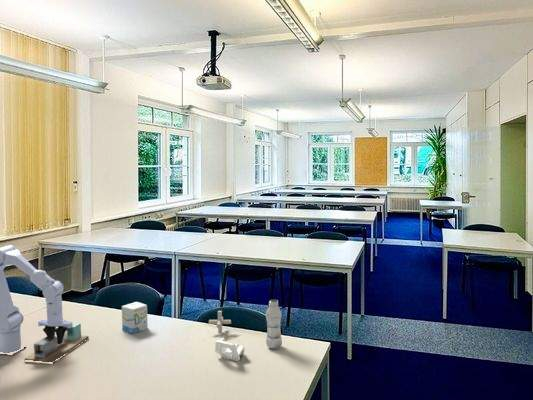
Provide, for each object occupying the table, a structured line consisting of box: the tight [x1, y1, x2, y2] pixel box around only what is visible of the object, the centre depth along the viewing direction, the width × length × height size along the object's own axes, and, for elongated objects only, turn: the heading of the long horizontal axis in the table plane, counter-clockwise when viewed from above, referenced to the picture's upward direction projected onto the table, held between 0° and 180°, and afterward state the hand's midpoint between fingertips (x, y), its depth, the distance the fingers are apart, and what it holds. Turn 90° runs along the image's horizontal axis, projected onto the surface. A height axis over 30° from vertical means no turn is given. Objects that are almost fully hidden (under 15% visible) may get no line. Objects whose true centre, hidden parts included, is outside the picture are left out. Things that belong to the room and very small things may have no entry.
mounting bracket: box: [214, 337, 246, 362], centre depth 167 cm, size 12×6×11 cm, turn 61°
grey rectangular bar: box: [39, 331, 68, 351], centre depth 172 cm, size 3×13×3 cm, turn 170°
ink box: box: [121, 301, 149, 334], centre depth 196 cm, size 8×8×12 cm
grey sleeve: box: [33, 335, 58, 359], centre depth 168 cm, size 5×8×6 cm, turn 170°
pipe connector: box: [208, 310, 232, 334], centre depth 191 cm, size 10×10×10 cm
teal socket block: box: [66, 322, 82, 340], centre depth 184 cm, size 6×4×6 cm
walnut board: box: [24, 335, 89, 362], centre depth 175 cm, size 12×24×2 cm, turn 170°
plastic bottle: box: [265, 299, 283, 350], centre depth 174 cm, size 6×7×20 cm
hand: (56, 343), depth 174 cm, fingers closed on grey rectangular bar, 3 cm apart
